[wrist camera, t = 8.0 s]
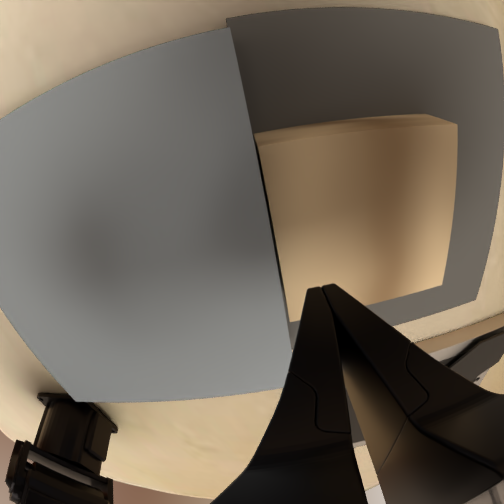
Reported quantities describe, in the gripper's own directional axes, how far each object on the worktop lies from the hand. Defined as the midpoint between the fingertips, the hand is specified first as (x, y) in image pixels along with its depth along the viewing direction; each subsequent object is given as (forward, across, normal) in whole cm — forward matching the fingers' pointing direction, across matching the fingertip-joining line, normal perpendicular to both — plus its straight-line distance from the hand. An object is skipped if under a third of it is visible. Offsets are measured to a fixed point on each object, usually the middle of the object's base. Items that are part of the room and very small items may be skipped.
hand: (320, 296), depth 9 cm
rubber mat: (+6, -6, 0) cm, 9 cm away
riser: (+6, +8, 0) cm, 10 cm away
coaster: (+6, -3, 0) cm, 7 cm away
